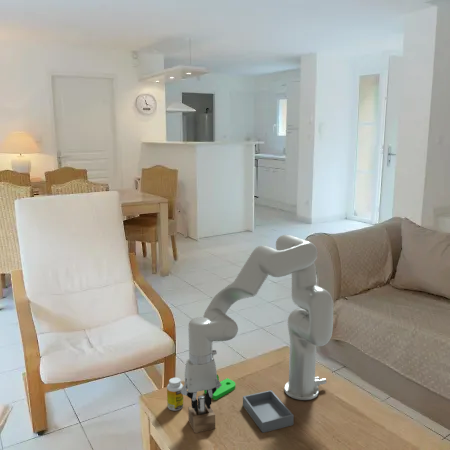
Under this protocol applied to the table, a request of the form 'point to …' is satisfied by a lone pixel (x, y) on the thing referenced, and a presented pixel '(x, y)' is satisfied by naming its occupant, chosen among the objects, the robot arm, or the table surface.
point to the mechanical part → (223, 388)
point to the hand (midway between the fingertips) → (201, 407)
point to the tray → (267, 411)
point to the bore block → (201, 420)
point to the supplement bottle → (174, 394)
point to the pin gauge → (201, 405)
